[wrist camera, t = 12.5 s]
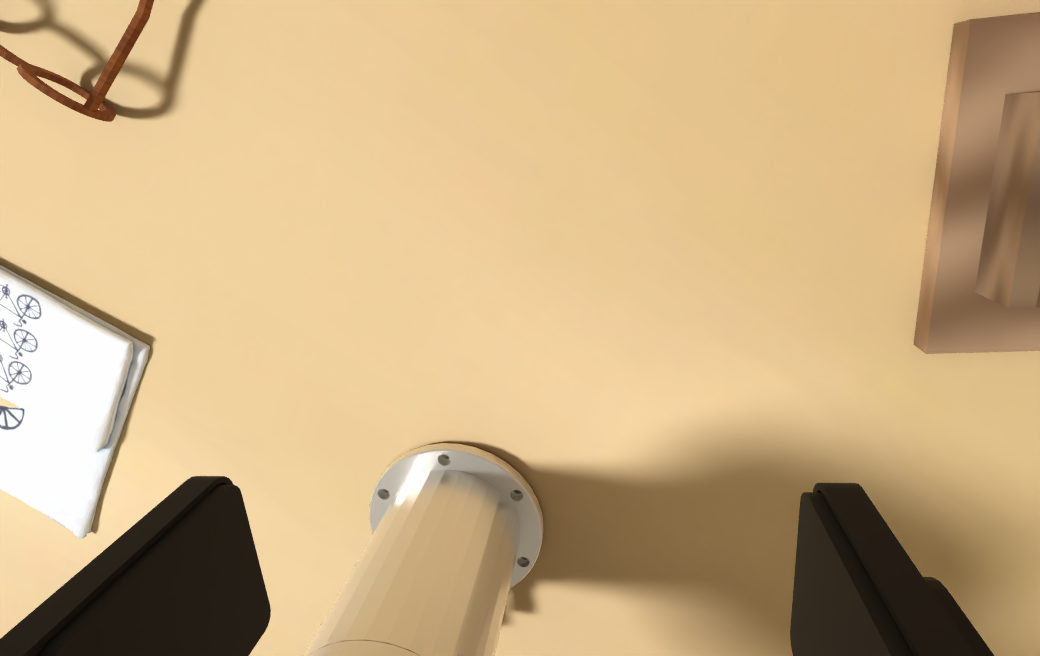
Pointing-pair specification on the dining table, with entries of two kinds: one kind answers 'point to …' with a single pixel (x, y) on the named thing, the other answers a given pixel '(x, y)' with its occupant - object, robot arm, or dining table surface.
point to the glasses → (103, 82)
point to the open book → (61, 400)
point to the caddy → (986, 195)
